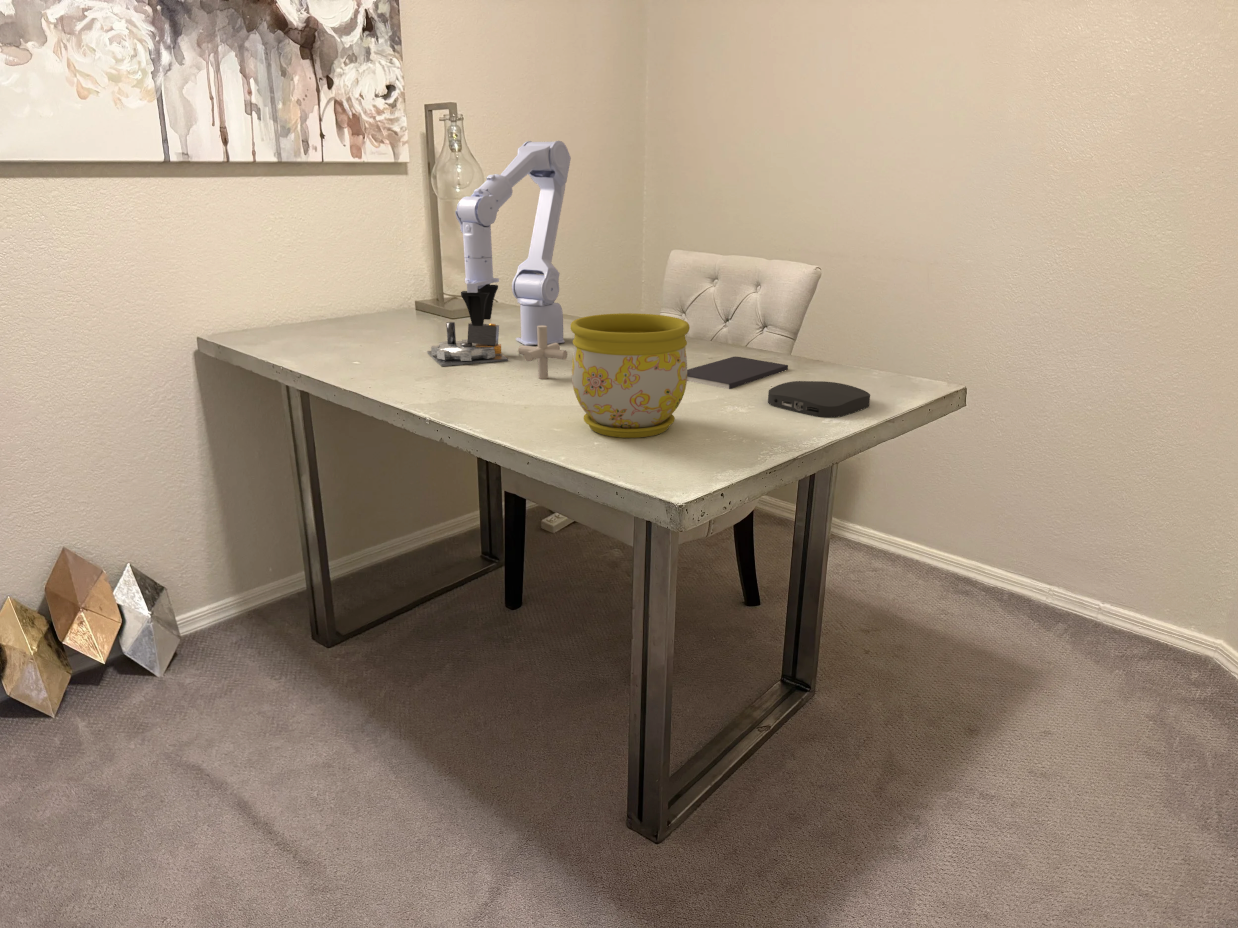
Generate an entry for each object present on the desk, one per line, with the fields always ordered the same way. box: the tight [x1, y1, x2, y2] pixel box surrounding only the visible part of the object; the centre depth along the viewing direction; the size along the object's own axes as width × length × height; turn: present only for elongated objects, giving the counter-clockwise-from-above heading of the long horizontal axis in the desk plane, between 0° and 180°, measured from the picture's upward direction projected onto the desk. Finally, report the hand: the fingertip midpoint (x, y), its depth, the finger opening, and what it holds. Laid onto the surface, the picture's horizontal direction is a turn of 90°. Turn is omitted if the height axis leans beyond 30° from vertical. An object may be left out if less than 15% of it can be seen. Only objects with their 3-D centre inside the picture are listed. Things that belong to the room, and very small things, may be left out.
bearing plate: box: [426, 350, 509, 367], centre depth 181 cm, size 14×14×1 cm
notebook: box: [687, 356, 789, 390], centre depth 168 cm, size 13×2×21 cm
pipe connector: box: [517, 325, 568, 380], centre depth 162 cm, size 10×10×10 cm
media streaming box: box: [767, 380, 871, 418], centre depth 147 cm, size 15×15×3 cm
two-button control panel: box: [467, 322, 500, 346], centre depth 181 cm, size 6×3×4 cm, turn 86°
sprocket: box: [430, 321, 502, 361], centre depth 180 cm, size 15×15×6 cm
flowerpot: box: [569, 312, 690, 439], centre depth 131 cm, size 18×18×16 cm
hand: (481, 322), depth 180 cm, fingers open, 7 cm apart
